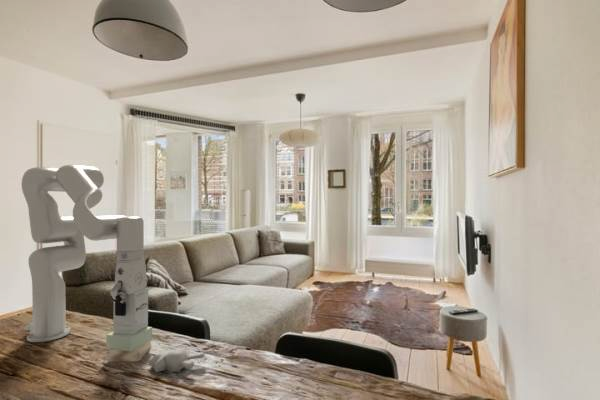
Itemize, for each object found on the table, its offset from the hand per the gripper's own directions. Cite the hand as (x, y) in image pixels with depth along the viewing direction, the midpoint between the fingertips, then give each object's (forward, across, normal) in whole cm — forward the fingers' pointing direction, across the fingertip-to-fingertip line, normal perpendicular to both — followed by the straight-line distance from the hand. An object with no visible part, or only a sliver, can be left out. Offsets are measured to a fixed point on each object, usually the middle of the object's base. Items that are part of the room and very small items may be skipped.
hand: (130, 310), depth 105 cm
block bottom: (+14, 0, 0) cm, 14 cm away
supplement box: (+7, +1, 0) cm, 7 cm away
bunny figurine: (+14, -7, -18) cm, 24 cm away
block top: (+10, 0, 0) cm, 10 cm away
